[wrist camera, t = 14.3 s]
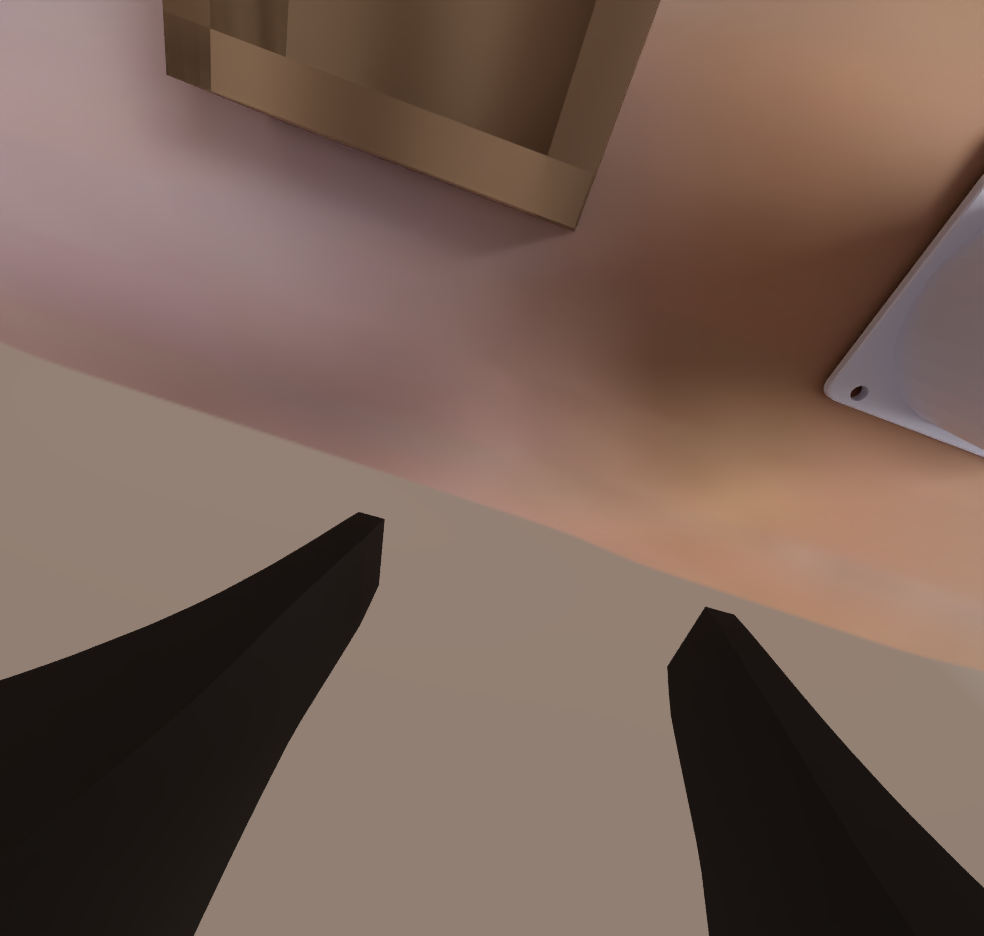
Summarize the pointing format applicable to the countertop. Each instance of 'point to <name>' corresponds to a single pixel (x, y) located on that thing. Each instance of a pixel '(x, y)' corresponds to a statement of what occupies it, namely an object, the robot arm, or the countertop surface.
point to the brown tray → (431, 82)
